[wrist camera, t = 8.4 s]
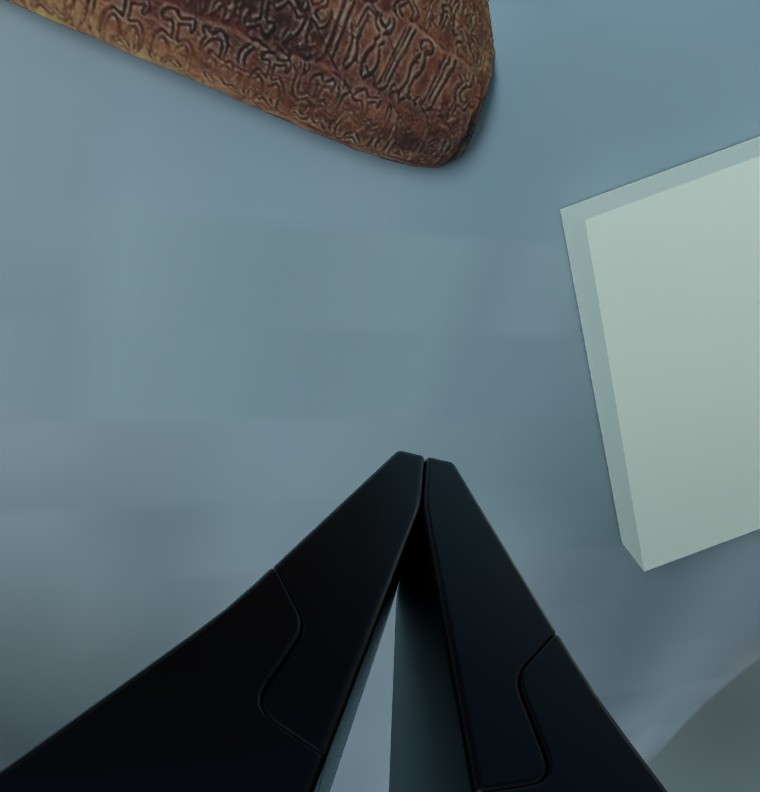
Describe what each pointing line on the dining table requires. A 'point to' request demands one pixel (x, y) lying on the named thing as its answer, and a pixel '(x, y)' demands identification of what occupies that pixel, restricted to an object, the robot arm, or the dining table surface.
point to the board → (676, 348)
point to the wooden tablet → (319, 62)
